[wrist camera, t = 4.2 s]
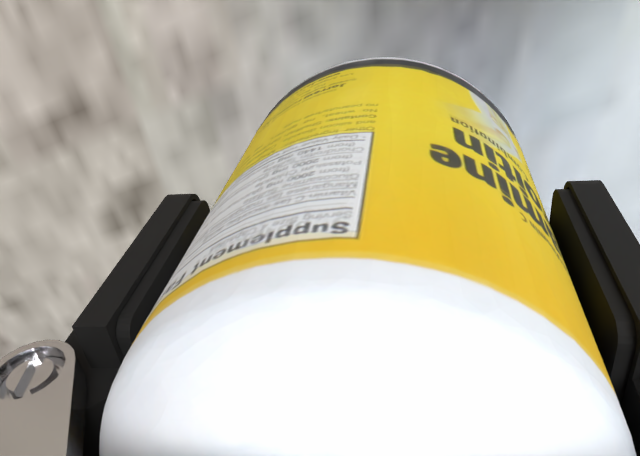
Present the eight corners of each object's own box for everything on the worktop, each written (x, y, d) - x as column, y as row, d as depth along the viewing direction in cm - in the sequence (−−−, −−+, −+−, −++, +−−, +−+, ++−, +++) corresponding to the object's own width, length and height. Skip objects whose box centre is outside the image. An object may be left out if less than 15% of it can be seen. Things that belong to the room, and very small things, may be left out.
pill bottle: (516, 281, 15) (714, 1060, 5) (278, 289, 16) (81, 932, 6) (527, 27, 11) (1152, 911, 2) (225, 62, 13) (-362, 702, 3)
